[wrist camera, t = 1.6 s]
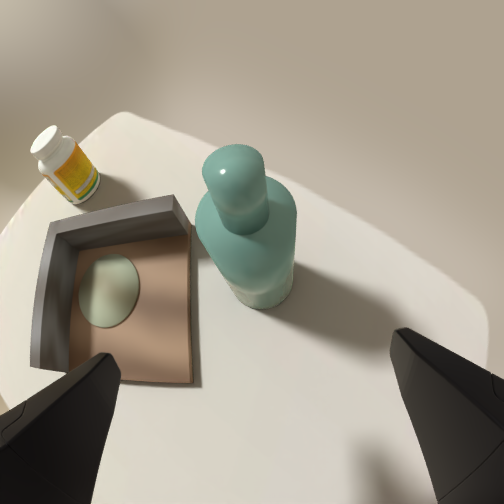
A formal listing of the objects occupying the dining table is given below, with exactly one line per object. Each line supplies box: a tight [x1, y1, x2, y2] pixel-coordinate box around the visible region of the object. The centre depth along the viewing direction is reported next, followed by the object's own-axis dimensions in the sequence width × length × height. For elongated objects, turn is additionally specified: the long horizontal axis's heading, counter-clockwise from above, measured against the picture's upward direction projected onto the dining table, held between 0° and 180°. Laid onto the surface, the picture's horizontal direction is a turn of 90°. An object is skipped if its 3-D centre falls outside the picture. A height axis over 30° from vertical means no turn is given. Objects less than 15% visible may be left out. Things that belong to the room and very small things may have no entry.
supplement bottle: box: [31, 126, 100, 204], centre depth 26 cm, size 5×5×10 cm
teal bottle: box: [195, 144, 297, 309], centre depth 16 cm, size 5×5×14 cm
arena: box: [30, 194, 193, 383], centre depth 21 cm, size 14×14×5 cm
